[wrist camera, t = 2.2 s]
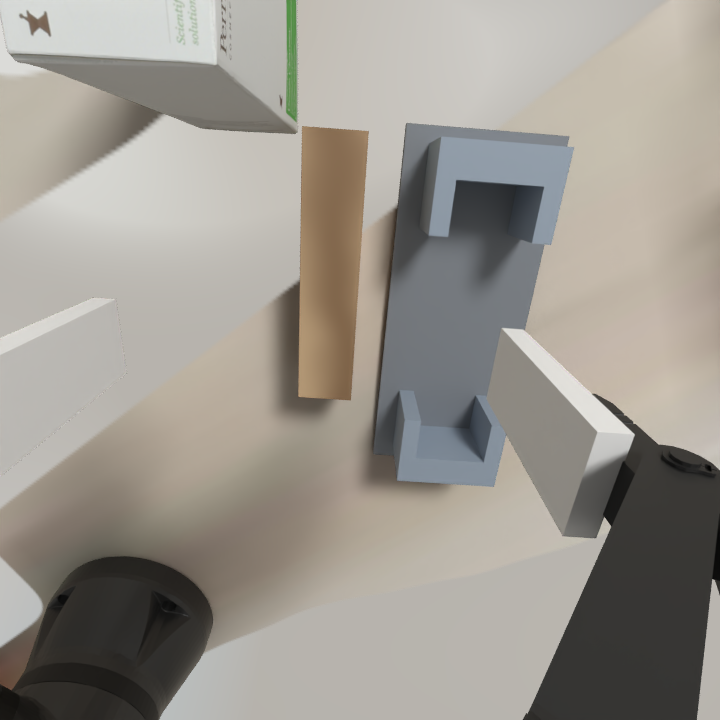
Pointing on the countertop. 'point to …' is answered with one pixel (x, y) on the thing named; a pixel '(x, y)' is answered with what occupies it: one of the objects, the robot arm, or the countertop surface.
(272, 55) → the skincare box
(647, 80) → the countertop surface
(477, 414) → the endcap rail
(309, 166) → the brown long rectangular block
